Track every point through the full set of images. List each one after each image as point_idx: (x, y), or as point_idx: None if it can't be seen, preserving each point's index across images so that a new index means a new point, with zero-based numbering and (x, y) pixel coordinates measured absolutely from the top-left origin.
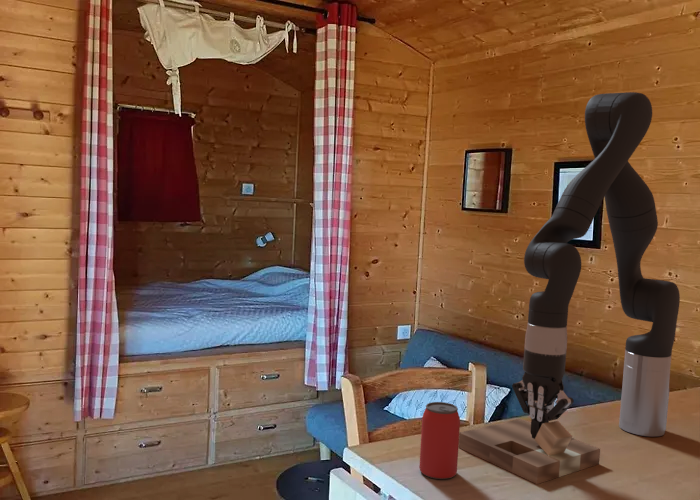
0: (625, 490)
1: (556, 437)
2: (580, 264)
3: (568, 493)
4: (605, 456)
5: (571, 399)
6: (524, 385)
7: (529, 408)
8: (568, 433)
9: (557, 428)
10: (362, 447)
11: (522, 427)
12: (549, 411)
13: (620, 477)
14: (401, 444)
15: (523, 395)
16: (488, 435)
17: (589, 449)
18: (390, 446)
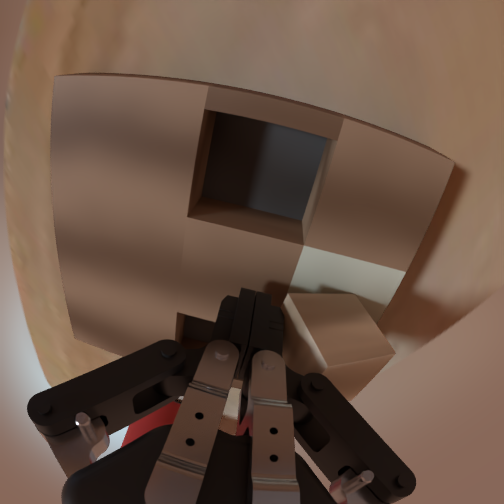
0: (492, 277)
1: (348, 399)
2: None
3: (387, 365)
4: (424, 55)
5: (405, 495)
6: (93, 460)
7: (179, 393)
8: (380, 360)
9: (339, 383)
10: (52, 382)
11: (112, 164)
12: (301, 445)
13: (487, 209)
14: (51, 352)
15: (118, 421)
16: (114, 316)
17: (425, 203)
18: (55, 365)
